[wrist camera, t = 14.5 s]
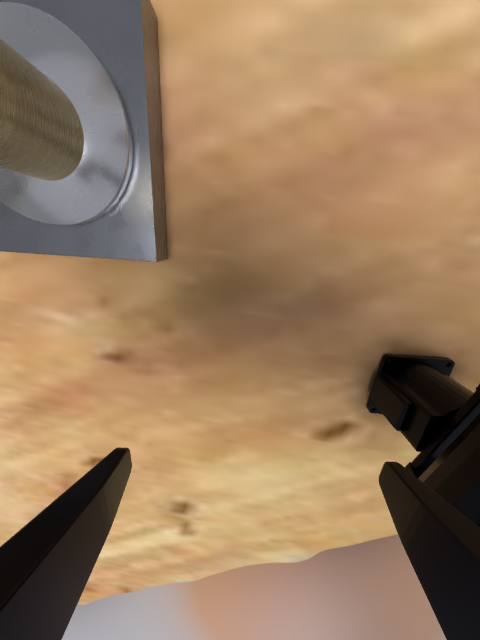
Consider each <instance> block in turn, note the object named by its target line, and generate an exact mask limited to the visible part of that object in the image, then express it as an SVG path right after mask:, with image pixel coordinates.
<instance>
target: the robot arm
mask: <svg viewBox="0 0 480 640" xmlns="http://www.w3.org/2000/svg"><path fill="white" fill-rule="evenodd" d="M389 359H390V360H389ZM388 360H389V361H388ZM454 364H455V363H454V361H453V360H451V359H449V358H440V357H424V356H408V355H392V354H387V355H385V356H384V357H383V358H382V360H381V364H380V367H379V370H378V373H377V376H376V378H375V382H374V385H373V388H372V391H371V394H370V398H369V401H368V404H367V409H368V410H369V412H370V413H378V414H383V415H384V416H385V417H386V418H387V420H388V421H389V422H390V423H391V424H392V426H393V427H394V428H395V429H396V430H397V431H401V433H402V434H403V435H404V436H405V437H406V439H407V440H408V441H409V442H410V443H411V445H412V446H413V447H414V448H415V450H416V451H418V452H420V454H419V455H418V456H417V457H416V458H415V459H414V460H413V461H412V462H411V463H410V462H409V463H408V465H407V466H406V467H403V466H402V465H401V464H399V463H397V462H385V463H384V465H383V468H382V470H381V473H380V475H379V484H380V487H381V490H382V493H383V495H384V498H385V501H386V503H387V506H388V509H389V511H390V514H391V517H392V519H393V522H394V524H395V527H396V530H397V532H398V535H399V537H400V539H401V542H402V544H403V546H404V548H405V551H406V553H407V555H408V557H409V559H410V562H411V564H412V566H413V568H414V570H415V572H416V574H417V577H418V579H419V581H420V583H421V585H422V587H423V589H424V591H425V594H426V596H427V598H428V600H429V602H430V605H431V607H432V609H433V611H434V613H435V615H436V617H437V619H438V622H439V624H440V626H441V628H442V630H443V632H444V635H445V637H446V639H447V640H480V384H479V385H478V387H477V388H476V391H475V393H473V392H472V391H470V390H469V389H467V388H465V387H464V386H462V385H461V384H459V383H458V382H456V381H455V380H453V379H452V378H450V377H449V376H450V373H451V371H452V369H453V367H454ZM373 407H374V408H373ZM131 468H132V462H131V455H130V450H129V448H116V449H114V450H113V451H112V452H111V453H110V454H108V455H107V456H106V457H105V458H104V459H103V460H101V461H100V462H99V463H98V464H97V465H96V466H94V467H93V468H92V469H91V470H90V471H89V472H87V473H86V474H85V475H84V476H83V477H82V478H80V479H79V480H78V481H77V482H76V483H75V484H73V485H72V486H71V487H70V488H69V489H68V490H66V491H65V492H64V493H63V494H62V495H60V496H59V497H58V498H57V499H56V500H55V501H53V502H52V503H51V504H50V505H49V506H48V507H46V508H45V509H44V510H43V511H42V512H41V513H39V514H38V515H37V516H36V517H35V518H34V519H32V520H31V521H30V522H29V523H28V524H27V525H25V526H24V527H23V528H22V529H21V530H20V531H18V532H17V533H16V534H15V535H14V536H12V537H11V538H10V539H9V540H8V541H7V542H5V543H4V544H3V545H2V546H1V547H0V640H61V639H62V637H63V635H64V632H65V630H66V628H67V626H68V624H69V621H70V619H71V617H72V614H73V612H74V610H75V607H76V606H77V603H78V601H79V599H80V597H81V594H82V592H83V590H84V588H85V585H86V583H87V581H88V579H89V576H90V574H91V572H92V570H93V567H94V565H95V563H96V561H97V558H98V556H99V554H100V552H101V549H102V547H103V545H104V543H105V540H106V538H107V536H108V534H109V531H110V529H111V527H112V524H113V521H114V518H115V516H116V513H117V510H118V507H119V504H120V501H121V498H122V496H123V493H124V490H125V487H126V484H127V481H128V478H129V476H130V473H131Z"/></svg>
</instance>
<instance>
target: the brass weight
mask: <svg viewBox="0 0 480 640" xmlns="http://www.w3.org/2000/svg"><path fill="white" fill-rule="evenodd" d="M83 149H84V135H83V129H82V124H81V121H80V118H79V116H78V113H77V111H76V109H75V107H74V105H73V104H72V102H71V101H70V99H69V98H68V96H67V95H66V94H65V93H64V92H63V90H62V89H61V88H60V87H58V86H57V85H56V84H55V83H54V82H53V81H51V80H50V79H49V78H48V77H47V76H45V75H44V74H43V73H42V72H41V71H39V70H38V69H37V68H36V67H35V66H33V65H32V64H31V63H30V62H29V61H27V60H26V59H25V58H24V57H23V56H21V55H20V54H19V53H18V52H17V51H15V50H14V49H13V48H12V47H11V46H9V45H8V44H7V43H6V42H5V41H3V40H2V39H1V38H0V167H1V168H4V169H8V170H11V171H14V172H18V173H21V174H25V175H28V176H31V177H35V178H38V179H42V180H47V181H56V180H61V179H63V178H66V177H67V176H69V175H70V174H71V173H73V172H74V170H75V169H76V168H77V167H78V165H79V163H80V161H81V158H82V154H83Z"/></svg>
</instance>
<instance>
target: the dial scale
mask: <svg viewBox="0 0 480 640" xmlns="http://www.w3.org/2000/svg"><path fill="white" fill-rule="evenodd" d="M0 38H1V39H2V40H3V41H5V42H6V43H7V44H8V45H9V46H11V47H12V48H13V49H14V50H15V51H17V52H18V53H19V54H20V55H21V56H23V57H24V58H25V59H26V60H27V61H29V62H30V63H31V64H32V65H33V66H35V67H36V68H37V69H38V70H39V71H41V72H42V73H43V74H44V75H45V76H47V77H48V78H49V79H50V80H51V81H53V82H54V83H55V84H56V85H57V86H58V87H60V88H61V89H62V90H63V92H64V93H65V94H66V95H67V96H68V98H69V99H70V101H71V102H72V104H73V105H74V107H75V109H76V111H77V113H78V116H79V118H80V121H81V124H82V129H83V135H84V149H83V154H82V158H81V161H80V163H79V165H78V167H77V168H76V169H75V170H74V172H73V173H71V174H70V175H69V176H67V177H66V178H63V179H61V180H56V181H47V180H42V179H38V178H35V177H31V176H28V175H25V174H21V173H18V172H14V171H11V170H8V169H4V168H1V167H0V251H5V252H20V253H35V254H50V255H64V256H79V257H94V258H109V259H124V260H139V261H153V262H157V261H161V260H165V259H167V236H166V213H165V191H164V168H163V145H162V122H161V100H160V77H159V54H158V31H157V17H156V15H155V12H154V9H153V7H152V4H151V2H150V0H0Z"/></svg>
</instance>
